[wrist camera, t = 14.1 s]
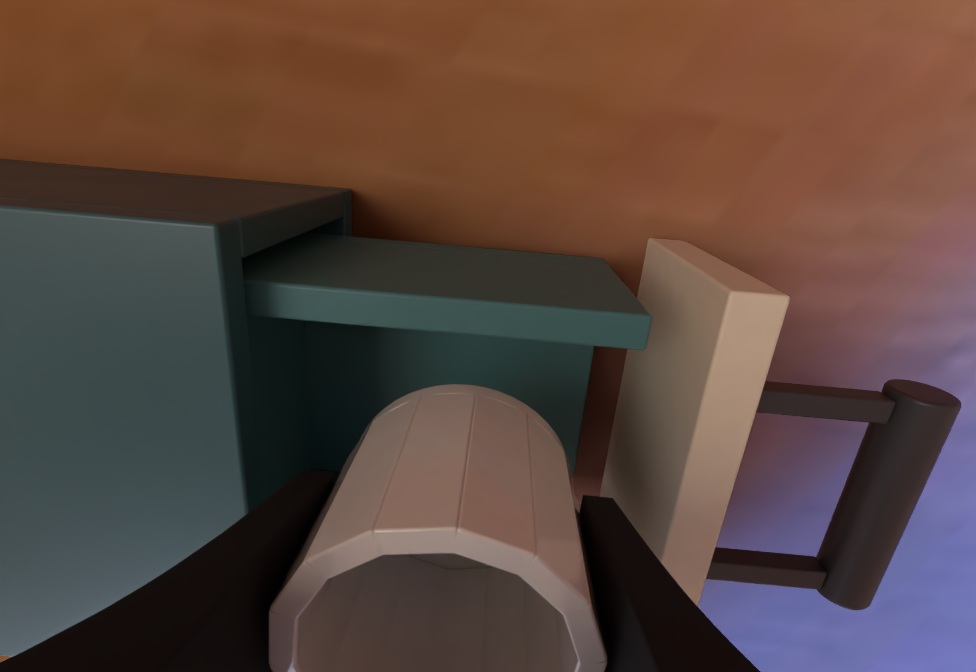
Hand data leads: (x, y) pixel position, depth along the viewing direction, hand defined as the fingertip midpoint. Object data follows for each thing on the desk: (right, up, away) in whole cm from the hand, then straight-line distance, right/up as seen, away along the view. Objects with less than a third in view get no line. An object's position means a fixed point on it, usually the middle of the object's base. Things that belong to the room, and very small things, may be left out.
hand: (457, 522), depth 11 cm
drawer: (+3, +2, +7) cm, 8 cm away
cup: (0, +1, +1) cm, 1 cm away
